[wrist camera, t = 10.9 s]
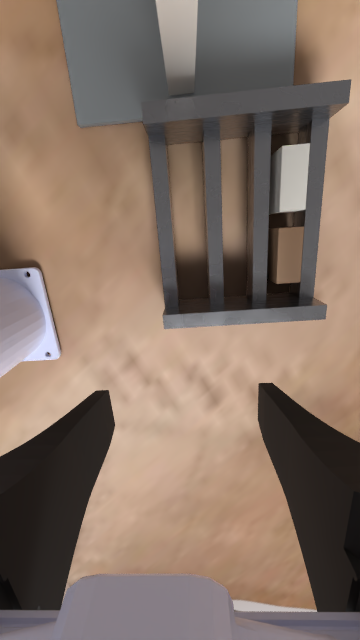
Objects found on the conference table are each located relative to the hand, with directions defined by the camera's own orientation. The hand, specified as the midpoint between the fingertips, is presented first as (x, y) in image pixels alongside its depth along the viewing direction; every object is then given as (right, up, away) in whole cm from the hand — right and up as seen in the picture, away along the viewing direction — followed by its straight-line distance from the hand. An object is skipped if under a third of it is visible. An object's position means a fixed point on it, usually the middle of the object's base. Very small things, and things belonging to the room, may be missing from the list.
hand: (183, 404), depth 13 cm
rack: (+4, +11, +7) cm, 14 cm away
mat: (0, +22, +3) cm, 23 cm away
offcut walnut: (+7, +9, +8) cm, 14 cm away
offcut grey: (+7, +14, +6) cm, 16 cm away
